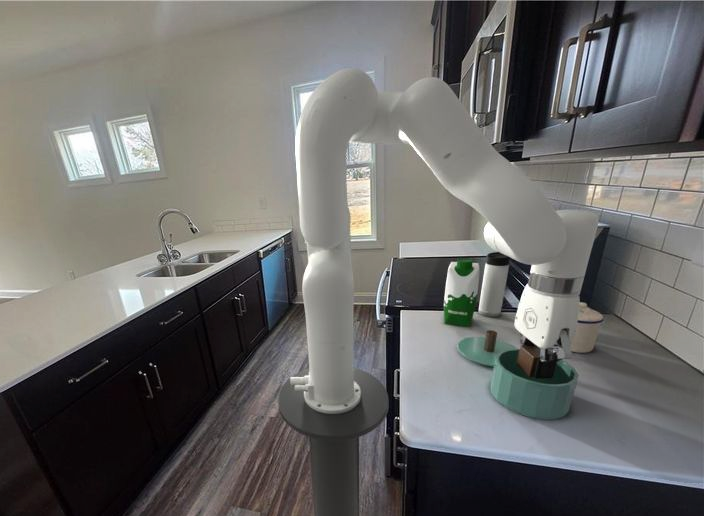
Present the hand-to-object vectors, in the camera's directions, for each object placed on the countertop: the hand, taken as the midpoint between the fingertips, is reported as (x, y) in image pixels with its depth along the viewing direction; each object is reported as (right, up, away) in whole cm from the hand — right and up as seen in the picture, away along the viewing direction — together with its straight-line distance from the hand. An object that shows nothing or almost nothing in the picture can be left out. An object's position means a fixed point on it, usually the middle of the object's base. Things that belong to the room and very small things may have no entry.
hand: (534, 369), depth 63 cm
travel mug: (+15, +9, +41) cm, 44 cm away
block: (0, 0, 0) cm, 0 cm away
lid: (+2, 0, +18) cm, 18 cm away
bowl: (0, -6, +2) cm, 7 cm away
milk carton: (+3, +7, +37) cm, 38 cm away
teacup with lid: (+24, +2, +21) cm, 32 cm away
